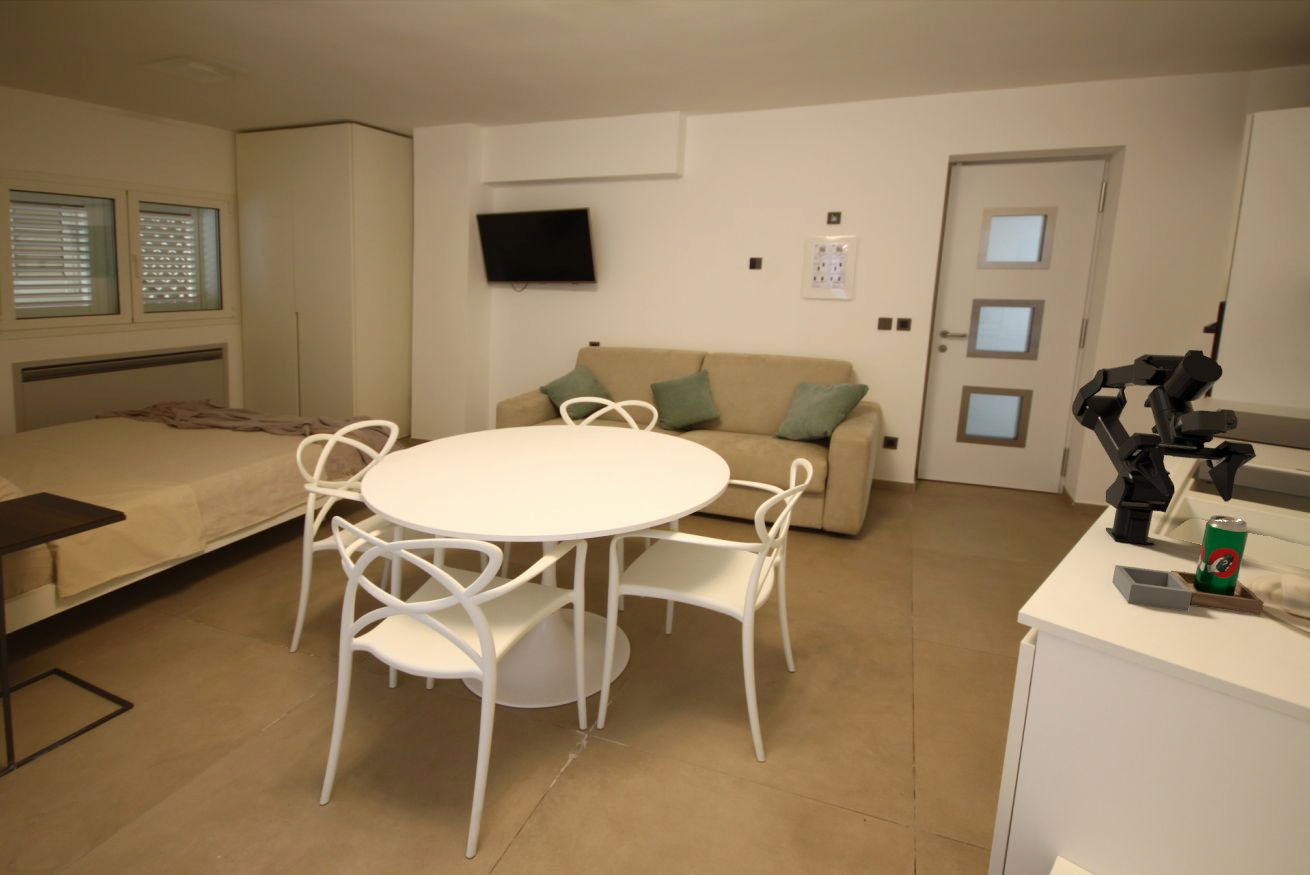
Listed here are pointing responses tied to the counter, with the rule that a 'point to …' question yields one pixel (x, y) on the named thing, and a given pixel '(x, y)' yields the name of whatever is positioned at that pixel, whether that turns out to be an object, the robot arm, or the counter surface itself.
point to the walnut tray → (1222, 597)
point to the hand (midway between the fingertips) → (1197, 497)
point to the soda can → (1221, 555)
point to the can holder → (1151, 587)
